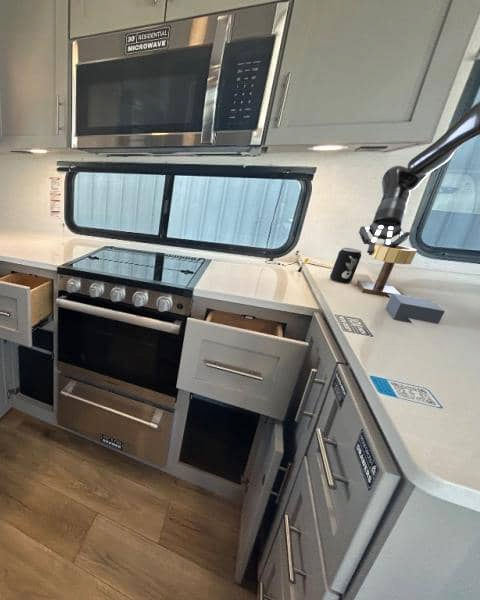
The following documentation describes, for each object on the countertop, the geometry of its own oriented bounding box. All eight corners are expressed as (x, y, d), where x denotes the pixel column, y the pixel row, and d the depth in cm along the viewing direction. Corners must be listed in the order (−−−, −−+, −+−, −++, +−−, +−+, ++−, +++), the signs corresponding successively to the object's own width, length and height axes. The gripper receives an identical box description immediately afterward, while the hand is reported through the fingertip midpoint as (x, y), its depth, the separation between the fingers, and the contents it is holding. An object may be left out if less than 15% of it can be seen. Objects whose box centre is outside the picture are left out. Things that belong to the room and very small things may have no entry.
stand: (391, 290, 116) (408, 253, 111) (399, 299, 108) (418, 259, 103) (356, 284, 120) (371, 248, 115) (362, 292, 112) (378, 254, 107)
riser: (424, 316, 96) (432, 300, 94) (436, 327, 89) (445, 311, 87) (385, 308, 100) (392, 293, 98) (393, 319, 93) (400, 303, 91)
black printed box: (332, 282, 121) (344, 250, 117) (326, 276, 127) (337, 246, 122) (353, 284, 120) (366, 252, 115) (346, 279, 125) (358, 248, 121)
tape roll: (411, 260, 110) (417, 247, 108) (410, 266, 103) (416, 252, 101) (372, 254, 116) (377, 241, 114) (368, 258, 109) (374, 245, 107)
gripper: (367, 204, 115) (352, 244, 111) (421, 209, 107) (407, 252, 103) (361, 218, 121) (347, 256, 117) (412, 224, 113) (399, 265, 109)
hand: (376, 254), depth 110 cm, fingers closed on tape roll, 2 cm apart
